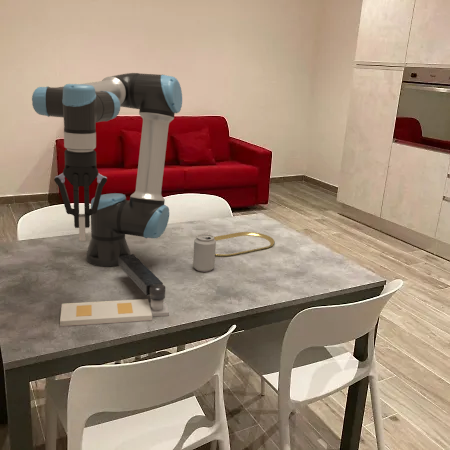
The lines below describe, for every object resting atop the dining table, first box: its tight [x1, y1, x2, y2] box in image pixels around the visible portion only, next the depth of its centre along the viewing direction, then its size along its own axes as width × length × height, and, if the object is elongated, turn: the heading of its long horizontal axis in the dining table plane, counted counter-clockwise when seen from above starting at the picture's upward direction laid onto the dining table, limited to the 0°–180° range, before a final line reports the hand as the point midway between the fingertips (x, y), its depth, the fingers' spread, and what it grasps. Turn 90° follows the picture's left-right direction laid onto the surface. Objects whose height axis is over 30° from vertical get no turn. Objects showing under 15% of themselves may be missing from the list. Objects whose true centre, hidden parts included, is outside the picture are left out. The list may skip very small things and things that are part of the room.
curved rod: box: [214, 231, 275, 257], centre depth 197 cm, size 19×35×2 cm, turn 126°
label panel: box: [59, 298, 170, 327], centre depth 137 cm, size 10×29×4 cm, turn 105°
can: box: [192, 233, 217, 273], centre depth 171 cm, size 8×8×12 cm
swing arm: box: [117, 253, 166, 300], centre depth 149 cm, size 28×5×3 cm, turn 30°
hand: (82, 239), depth 129 cm, fingers closed
